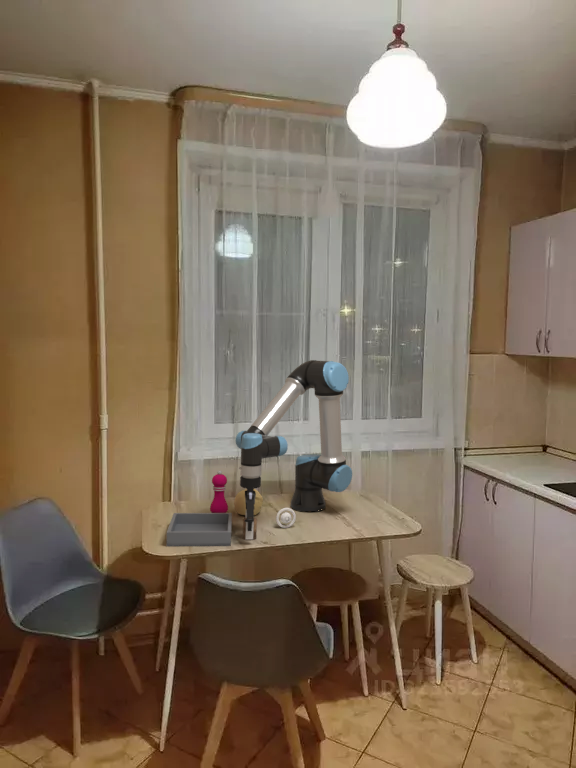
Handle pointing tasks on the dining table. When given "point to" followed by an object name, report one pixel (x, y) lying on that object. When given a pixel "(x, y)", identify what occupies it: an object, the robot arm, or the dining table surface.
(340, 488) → the robot arm
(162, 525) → the dining table surface
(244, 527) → the walnut cylinder
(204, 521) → the tray
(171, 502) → the dining table surface
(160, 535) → the dining table surface
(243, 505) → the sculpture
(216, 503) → the pepper mill
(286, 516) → the ring around a ball
